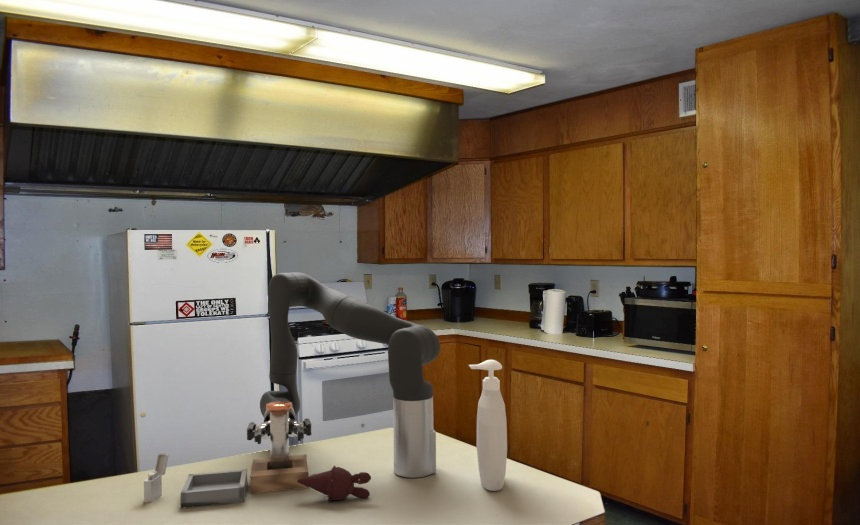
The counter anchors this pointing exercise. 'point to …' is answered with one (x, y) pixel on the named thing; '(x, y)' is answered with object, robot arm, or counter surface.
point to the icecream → (337, 483)
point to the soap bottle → (491, 429)
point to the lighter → (155, 479)
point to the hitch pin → (279, 434)
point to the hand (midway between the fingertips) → (279, 438)
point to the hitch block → (278, 475)
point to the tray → (214, 488)
